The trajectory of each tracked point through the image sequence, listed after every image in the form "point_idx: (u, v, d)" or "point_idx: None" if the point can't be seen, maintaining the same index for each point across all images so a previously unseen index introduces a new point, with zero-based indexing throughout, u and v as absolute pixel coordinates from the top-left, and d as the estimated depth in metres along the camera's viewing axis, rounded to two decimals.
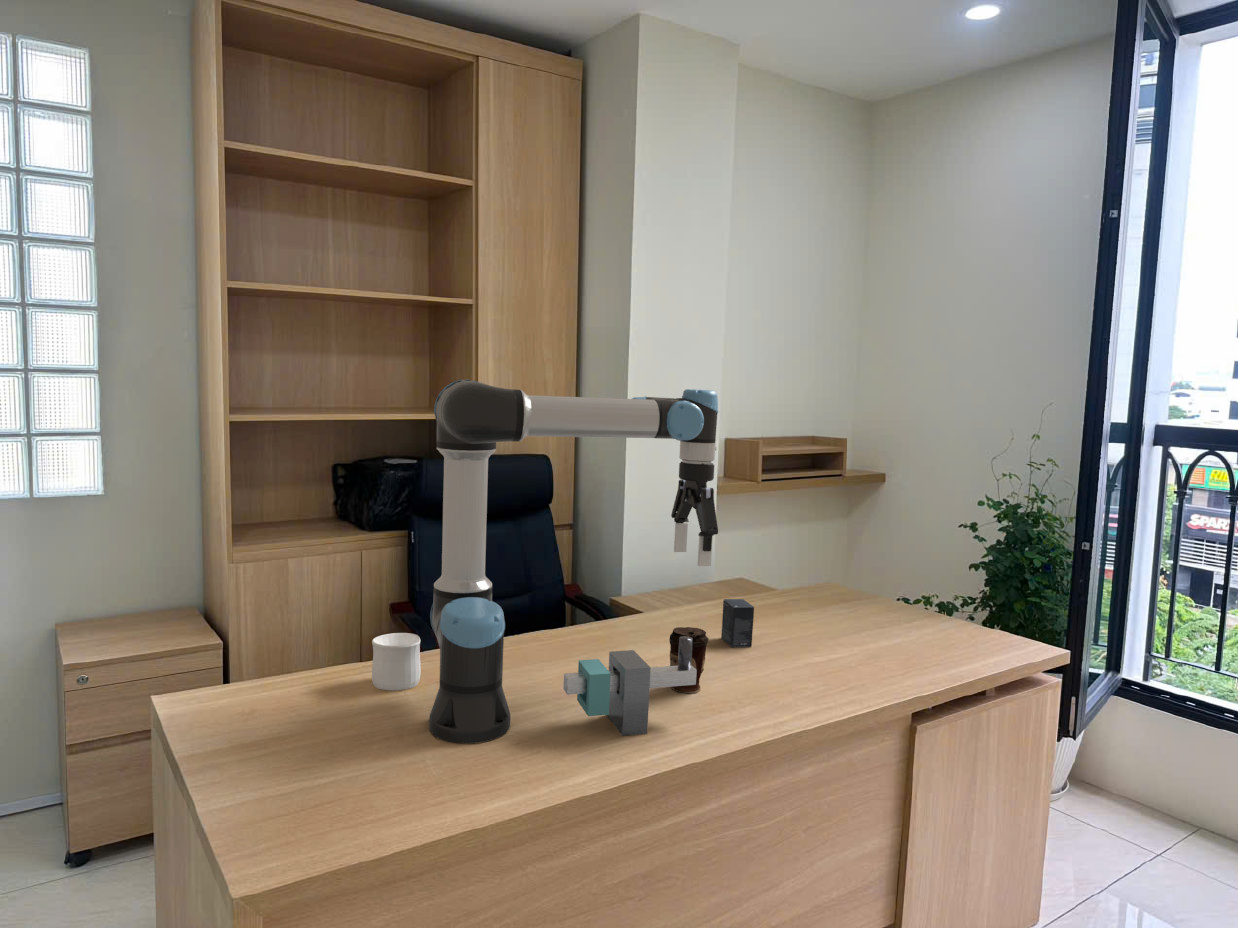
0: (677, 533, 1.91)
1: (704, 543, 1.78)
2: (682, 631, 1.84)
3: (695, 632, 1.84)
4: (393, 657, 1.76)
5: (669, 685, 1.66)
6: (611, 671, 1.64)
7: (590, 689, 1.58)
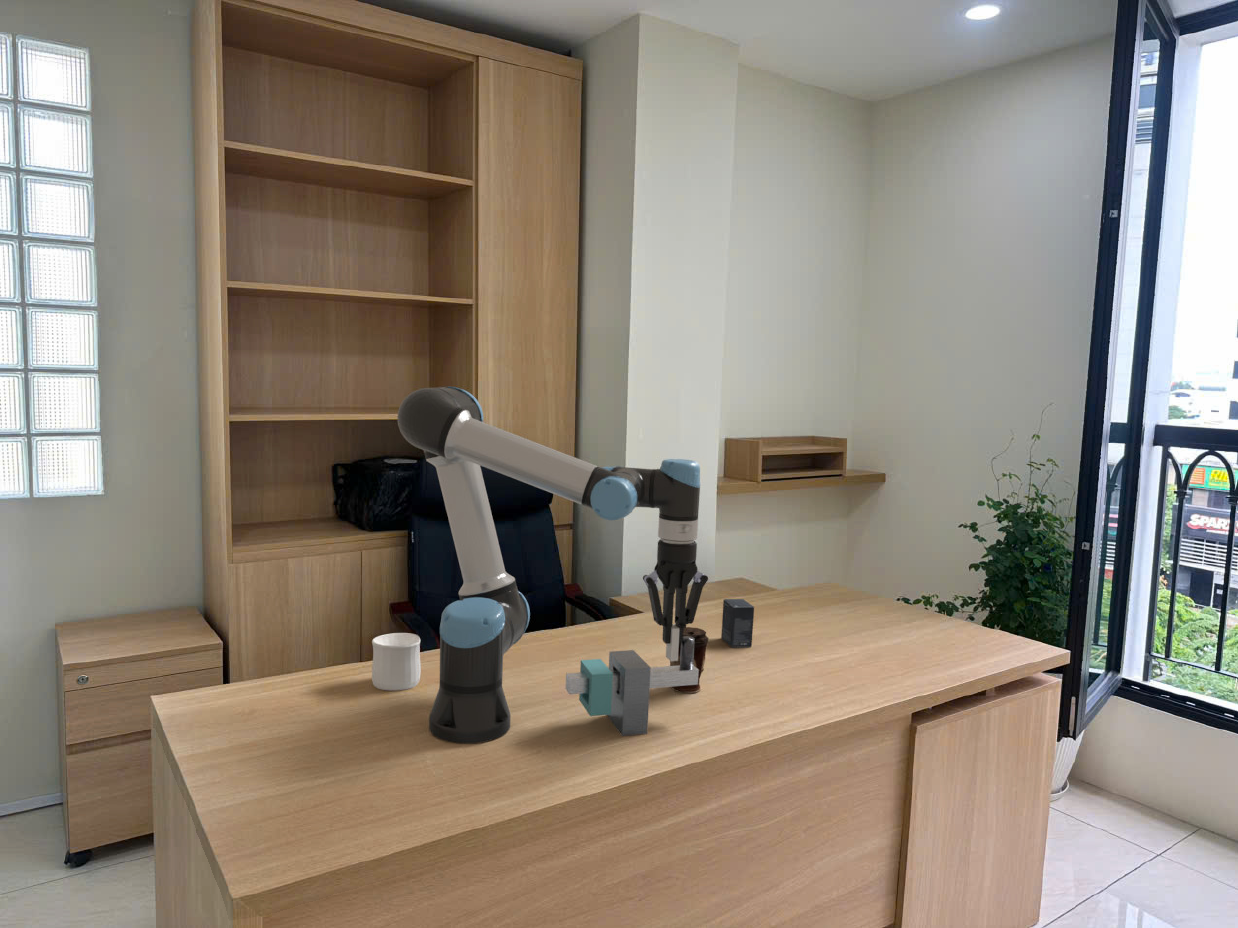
0: None
1: None
2: None
3: (695, 632, 1.84)
4: (393, 657, 1.76)
5: (671, 685, 1.66)
6: (613, 671, 1.65)
7: (592, 689, 1.58)
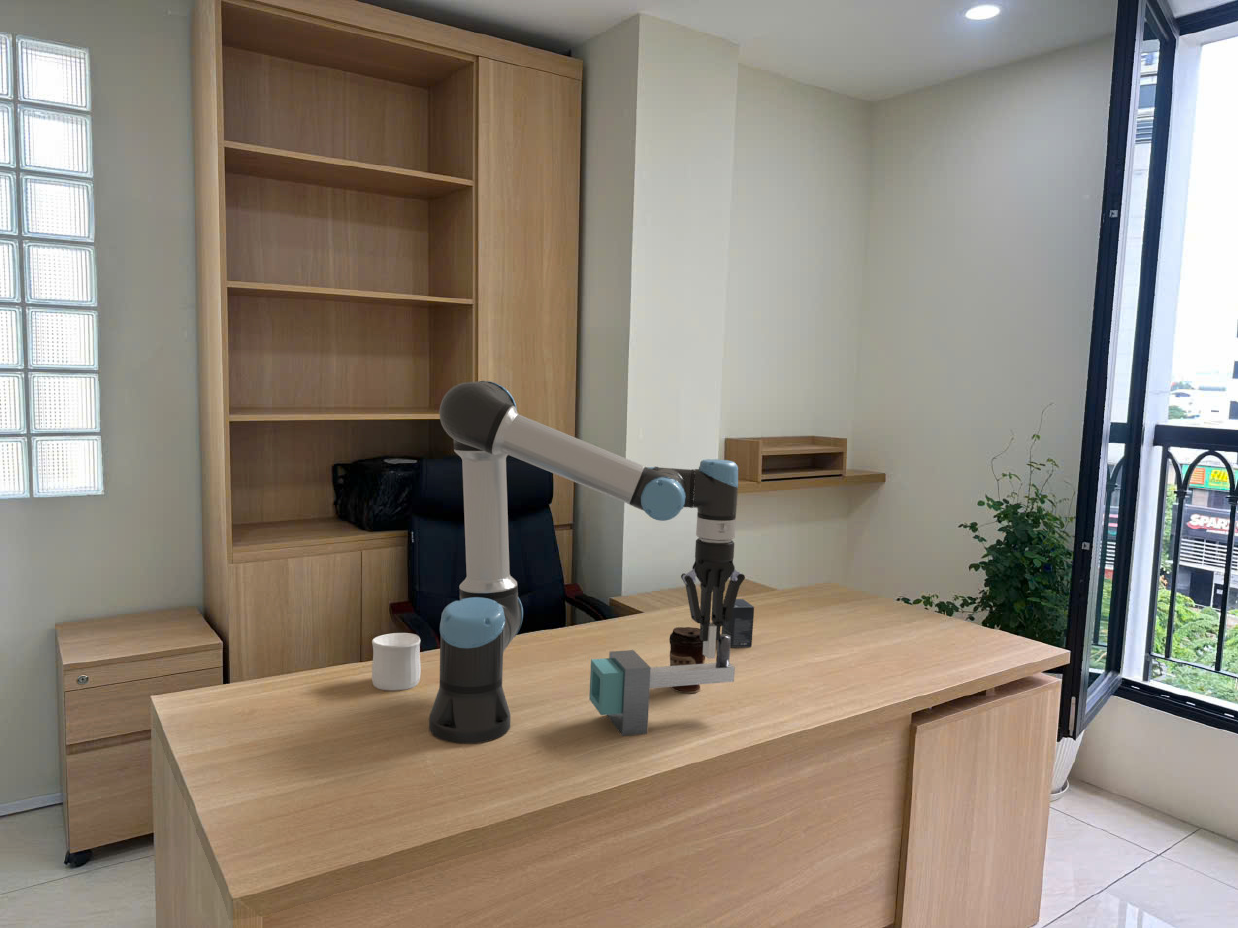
0: None
1: None
2: (682, 631, 1.84)
3: (695, 632, 1.84)
4: (393, 657, 1.76)
5: (708, 682, 1.68)
6: (651, 668, 1.67)
7: (603, 688, 1.59)
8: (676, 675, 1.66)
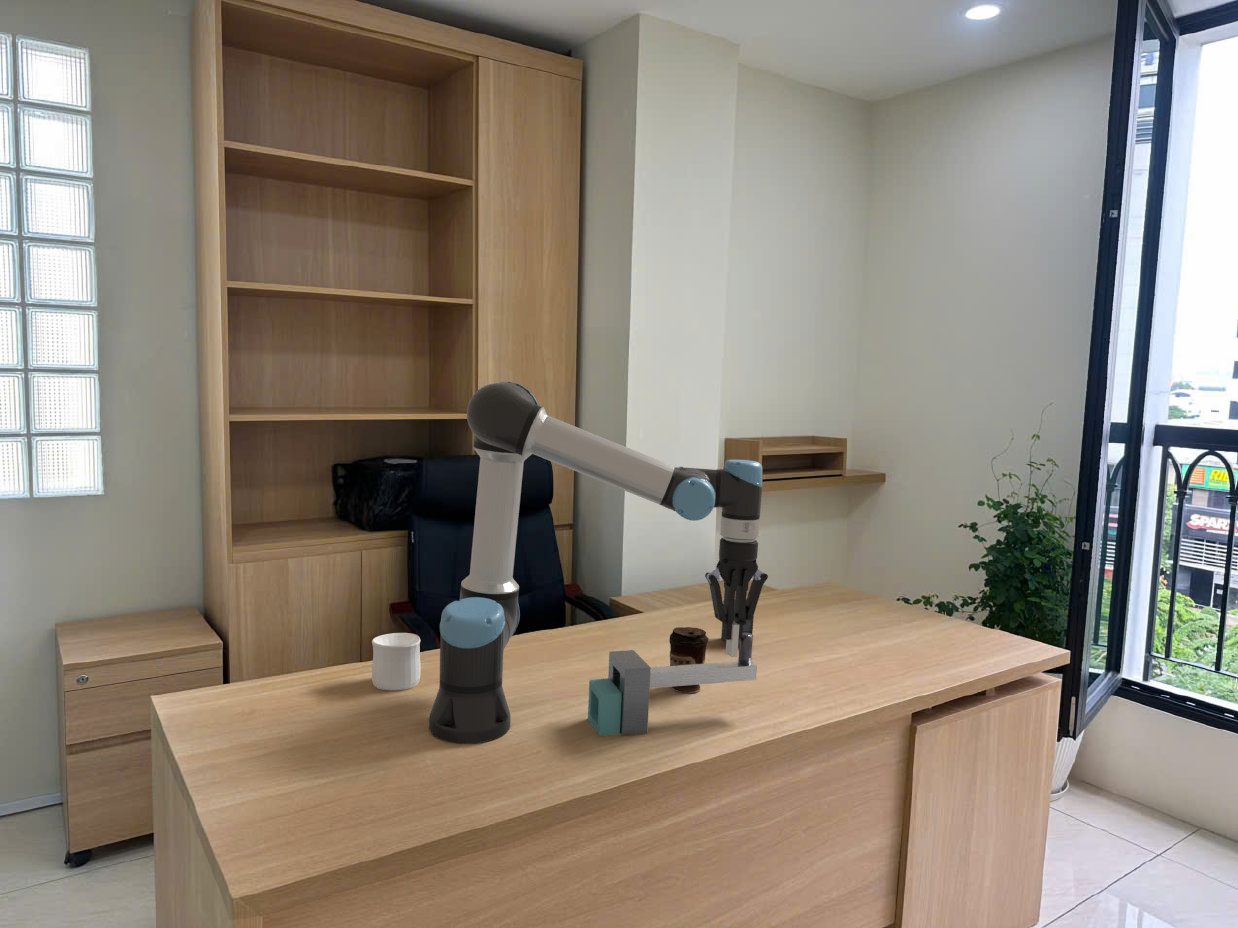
0: None
1: None
2: (682, 631, 1.84)
3: (695, 632, 1.84)
4: (393, 657, 1.76)
5: (730, 680, 1.70)
6: (674, 667, 1.68)
7: (601, 709, 1.59)
8: (699, 674, 1.68)
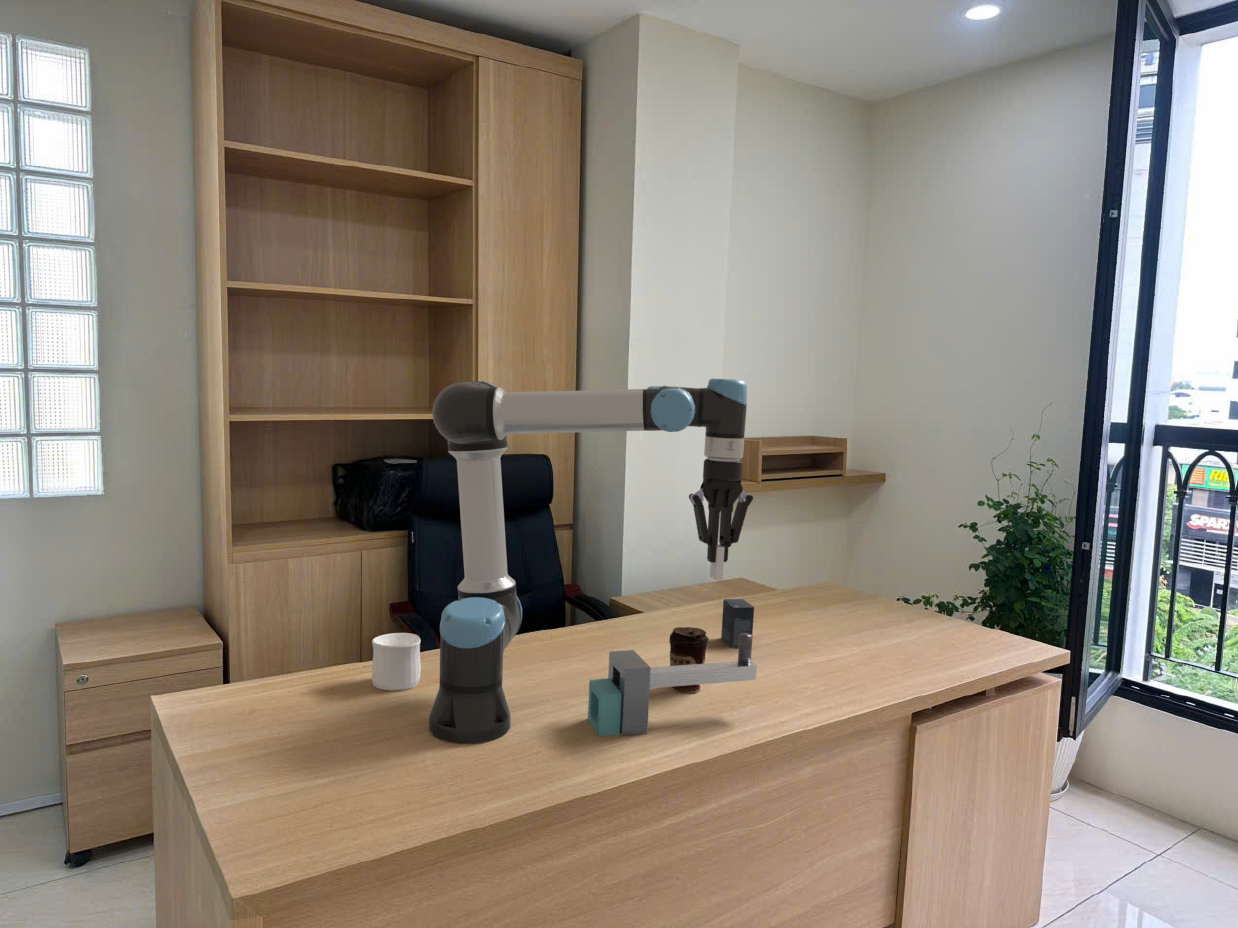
0: None
1: None
2: (682, 631, 1.84)
3: (695, 632, 1.84)
4: (393, 657, 1.76)
5: (730, 680, 1.70)
6: (674, 667, 1.68)
7: (601, 709, 1.59)
8: (698, 674, 1.68)
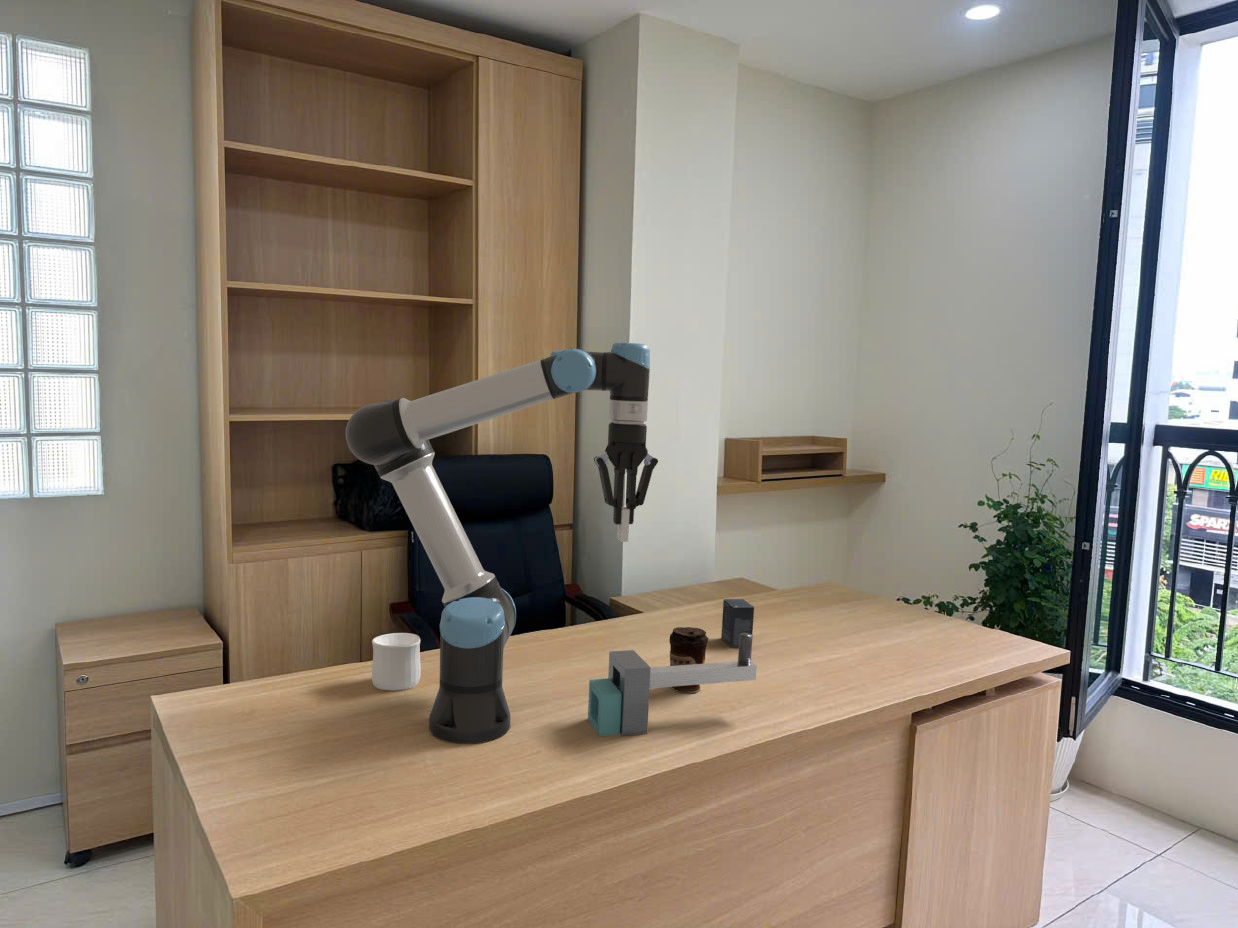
0: None
1: None
2: (682, 631, 1.84)
3: (695, 632, 1.84)
4: (393, 657, 1.76)
5: (730, 680, 1.70)
6: (674, 667, 1.68)
7: (601, 709, 1.59)
8: (698, 674, 1.68)
